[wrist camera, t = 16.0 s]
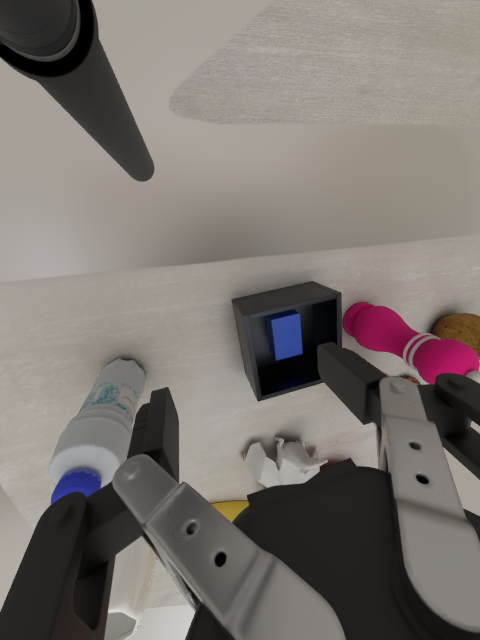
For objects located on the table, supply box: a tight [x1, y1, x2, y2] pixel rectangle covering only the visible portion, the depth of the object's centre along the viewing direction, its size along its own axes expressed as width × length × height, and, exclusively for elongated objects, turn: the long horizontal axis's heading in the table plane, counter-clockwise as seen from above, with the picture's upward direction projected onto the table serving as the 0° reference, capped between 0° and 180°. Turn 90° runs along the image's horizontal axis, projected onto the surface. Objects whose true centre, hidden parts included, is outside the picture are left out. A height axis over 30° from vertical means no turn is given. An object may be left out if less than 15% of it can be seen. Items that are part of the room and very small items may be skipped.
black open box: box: [232, 281, 342, 401], centre depth 37 cm, size 13×13×8 cm
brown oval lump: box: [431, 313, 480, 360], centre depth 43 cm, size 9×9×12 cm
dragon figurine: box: [241, 437, 328, 490], centre depth 47 cm, size 15×15×9 cm
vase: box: [104, 537, 157, 640], centre depth 41 cm, size 14×14×15 cm
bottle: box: [49, 359, 145, 505], centre depth 28 cm, size 7×7×20 cm
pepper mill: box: [343, 302, 480, 384], centre depth 34 cm, size 7×7×20 cm
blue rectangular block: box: [265, 309, 303, 361], centre depth 39 cm, size 7×4×3 cm, turn 9°
